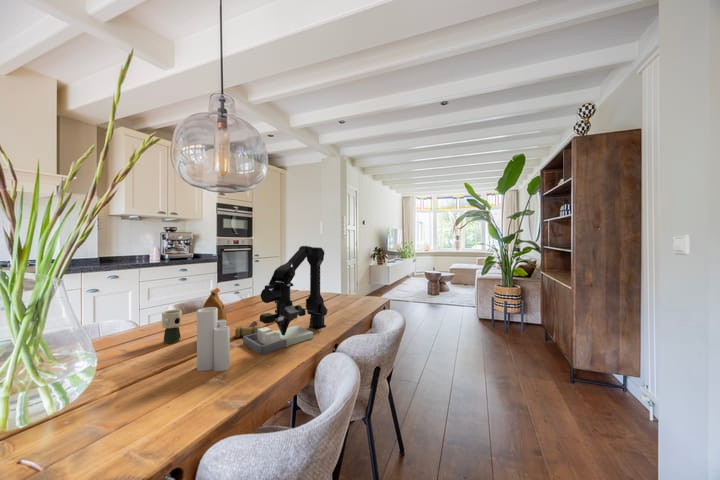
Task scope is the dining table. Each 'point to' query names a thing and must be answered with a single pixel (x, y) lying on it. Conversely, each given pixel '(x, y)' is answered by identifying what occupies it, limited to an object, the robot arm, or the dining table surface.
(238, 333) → the gavel
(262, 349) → the tray
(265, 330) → the white square block
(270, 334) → the light grey block
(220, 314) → the coffee package
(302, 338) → the board
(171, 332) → the character mug
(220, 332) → the vase
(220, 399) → the dining table surface
